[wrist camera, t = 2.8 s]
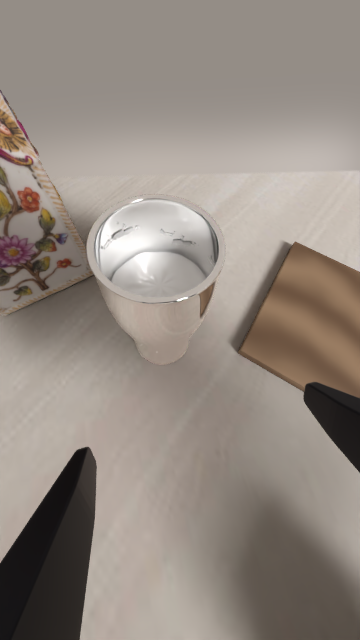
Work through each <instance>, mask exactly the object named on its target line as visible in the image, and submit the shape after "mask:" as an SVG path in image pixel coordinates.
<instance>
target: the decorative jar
mask: <svg viewBox="0 0 360 640" xmlns="http://www.w3.org/2000/svg"><path fill="white" fill-rule="evenodd" d="M38 155H39V154H38V151H37V150H36V149H35V147H34V146H33V145H32V143H31V142H30V140H29V138H28V136H27V134H26V131H25V129H24V128H23V126H22V124H21V123H20V122H19V121H18V120H17V117H16V115H15V113H14V111H13V110H12V109H11V108H10V106H9V103H8V101H7V100H6V98H5V96H4V95H3V94H2V92H1V90H0V315H3V316H7V315H8V314H10V313H12V312H14V311H17V310H18V309H21V308H23V307H25V306H28V305H30V304H32V303H34V302H36V301H39V300H41V299H43V298H45V297H47V296H49V295H51V294H54V293H56V292H58V291H60V290H62V289H65V288H67V287H69V286H71V285H73V284H75V283H78V282H80V281H82V280H84V279H86V278H88V277H90V276H92V275H94V273H93V272H92V270H91V268H90V266H89V263H88V259H87V254H86V248H85V246H84V244H83V242H82V240H81V239H80V236H79V234H78V232H77V230H76V228H75V226H74V225H73V223H72V221H71V219H70V217H69V215H68V213H67V211H66V209H65V207H64V205H63V203H62V200H61V198H60V195H59V194H58V192H57V190H56V188H55V186H54V185H53V184H52V182H51V181H50V179H49V177H48V175H47V173H46V172H45V170H44V169H43V167H42V164H41V162H40V160H39V157H38Z"/></svg>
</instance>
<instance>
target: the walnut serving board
mask: <svg viewBox="0 0 360 640" xmlns="http://www.w3.org/2000/svg"><path fill="white" fill-rule="evenodd" d="M238 354H240V355H242V356H243V357H245V358H247V359H249V360H250V361H252V362H254V363H255V364H257V365H259V366H261V367H262V368H264V369H266V370H267V371H269V372H271V373H273V374H274V375H276V376H278V377H279V378H281V379H283V380H285V381H286V382H288V383H290V384H291V385H293V386H295V387H297V388H298V389H300V390H302V391H303V392H304V390H305V385H306V384H307V383H311V382H318V383H321V384H324V385H326V386H329V387H332V388H334V389H337V390H340V391H342V392H345V393H348V394H350V395H353V396H355V397H358V398H360V272H359V271H356V270H354V269H352V268H350V267H348V266H346V265H344V264H342V263H339V262H337V261H335V260H333V259H331V258H329V257H327V256H325V255H323V254H320V253H318V252H316V251H314V250H312V249H310V248H308V247H306V246H303V245H301V244H299V243H297V242H295V243H294V244H293V245H292V246H291V248H290V250H289V252H288V254H287V256H286V258H285V260H284V262H283V264H282V266H281V268H280V270H279V271H278V273H277V275H276V277H275V279H274V281H273V283H272V285H271V287H270V289H269V291H268V293H267V295H266V297H265V299H264V301H263V303H262V305H261V307H260V309H259V311H258V313H257V315H256V317H255V319H254V321H253V323H252V325H251V327H250V329H249V331H248V333H247V335H246V337H245V339H244V341H243V343H242V345H241V347H240V349H239V351H238Z"/></svg>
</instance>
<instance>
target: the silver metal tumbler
mask: <svg viewBox="0 0 360 640" xmlns="http://www.w3.org/2000/svg"><path fill="white" fill-rule="evenodd" d="M86 254H87V259H88V263H89V266H90V268H91V270H92V272H93V273H94V275H95V278H96V281H97V283H98V286H99V289H100V291H101V293H102V296H103V298H104V301H105V303H106V305H107V306H108V308H109V310H110V312H111V314H112V316H113V317H114V319H115V320H116V321H117V323H118V324H119V326H120V327H121V328H122V329H123V330H124V331H125V332H126V333H127V334H128V335H129V336H130V337H132V338H133V339H134V340H135V344H136V347H137V350H138V352H139V353H140V355H141V356H142V357H143V358H144V359H146V360H147V361H149V362H151V363H154V364H158V365H166V364H171V363H173V362H175V361H177V360H179V359H180V358H181V357H182V356H183V355H184V354H185V352H186V351H187V349H188V346H189V342H190V336H191V335H192V334H193V333H194V332H195V331H196V330H197V328H198V327H199V326H200V325H201V323H202V322H203V320H204V318H205V316H206V314H207V313H208V311H209V308H210V306H211V303H212V300H213V298H214V295H215V291H216V288H217V284H218V280H219V276H220V272H221V269H222V267H223V264H224V261H225V255H226V245H225V240H224V236H223V233H222V231H221V229H220V227H219V225H218V224H217V222H216V221H215V220H214V219H213V217H212V216H211V215H210V214H209V213H207V212H206V211H205V210H204V209H202V208H201V207H199V206H198V205H196V204H194V203H192V202H190V201H188V200H185V199H182V198H179V197H175V196H170V195H163V194H148V195H140V196H135V197H131V198H128V199H125V200H123V201H120V202H118V203H116V204H115V205H113V206H111V207H110V208H108V209H107V210H106V211H105V212H103V213H102V214H101V215H100V216H99V218H98V219H97V220H96V221H95V223H94V224H93V226H92V228H91V230H90V232H89V235H88V238H87V244H86Z"/></svg>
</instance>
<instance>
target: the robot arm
mask: <svg viewBox="0 0 360 640" xmlns="http://www.w3.org/2000/svg"><path fill="white" fill-rule="evenodd" d="M304 402H305V404H306V405H307V407H308V408H309V410H310V411H311V412H312V414H313V415H314V416H315V418H316V419H317V421H318V422H319V423H320V425H321V426H322V428H323V429H324V430H325V432H326V433H327V434H328V436H329V437H330V438H331V439H332V441H333V442H334V443H335V444H336V445H337V447H338V448H339V449H340V450H341V451H342V452H343V454H344V455H345V456H346V457H347V458H348V459H349V461H350V462H351V463H352V464H353V465H354V466H355V468H356V469H357V470H358V471H359V472H360V398H358V397H355V396H353V395H350V394H348V393H345V392H342V391H340V390H337V389H334V388H332V387H329V386H326V385H324V384H321V383H318V382H311V383H307V384H306V385H305V390H304ZM96 469H97V466H96V460H95V458H94V456H93V454H92V451H91V449H90V448H89V447H85V448H81V449H78V450H77V451H76V452H75V453H74V454H73V456H72V457H71V459H70V460H69V462H68V463H67V465H66V466H65V468H64V469H63V471H62V472H61V474H60V475H59V477H58V478H57V480H56V481H55V483H54V484H53V486H52V487H51V489H50V490H49V492H48V493H47V495H46V496H45V498H44V499H43V501H42V502H41V503H40V505H39V506H38V508H37V509H36V511H35V512H34V514H33V515H32V517H31V518H30V520H29V521H28V523H27V524H26V526H25V527H24V529H23V530H22V532H21V533H20V535H19V536H18V538H17V539H16V541H15V542H14V544H13V545H12V547H11V548H10V550H9V551H8V552H7V554H6V555H5V557H4V558H3V560H2V561H1V563H0V640H80V632H81V624H82V616H83V608H84V600H85V592H86V584H87V576H88V569H89V561H90V553H91V545H92V537H93V529H94V520H95V500H96Z"/></svg>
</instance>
